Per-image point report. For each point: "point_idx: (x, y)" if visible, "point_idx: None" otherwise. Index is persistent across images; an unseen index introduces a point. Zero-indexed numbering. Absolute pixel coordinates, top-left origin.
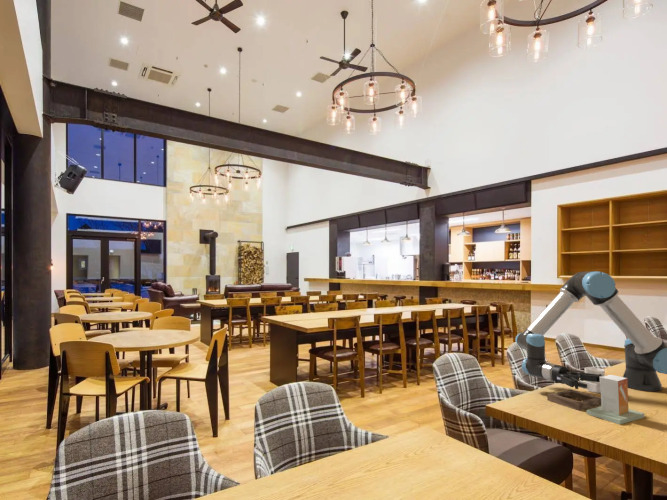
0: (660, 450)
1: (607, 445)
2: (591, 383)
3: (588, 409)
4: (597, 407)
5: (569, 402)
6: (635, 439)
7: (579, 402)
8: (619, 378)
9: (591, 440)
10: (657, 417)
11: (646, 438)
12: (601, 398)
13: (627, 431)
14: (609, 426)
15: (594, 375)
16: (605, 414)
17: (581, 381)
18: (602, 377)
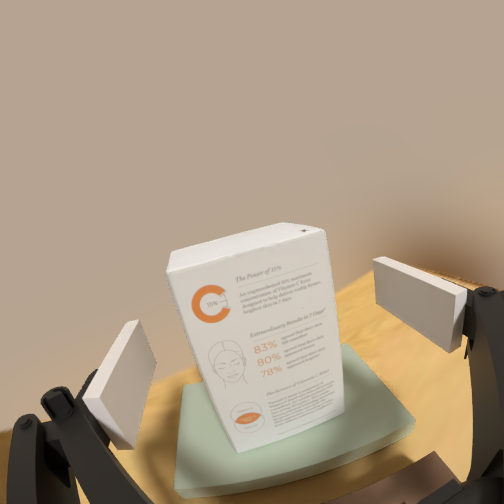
0: (360, 279)
1: (445, 275)
2: (397, 263)
3: (400, 427)
4: (320, 459)
5: None
6: (374, 298)
7: (412, 484)
8: (223, 239)
9: (469, 281)
10: (151, 389)
11: (344, 304)
12: (340, 359)
13: (361, 323)
14: (392, 341)
15: (76, 445)
16: (357, 381)
17: (450, 285)
18: (309, 230)
